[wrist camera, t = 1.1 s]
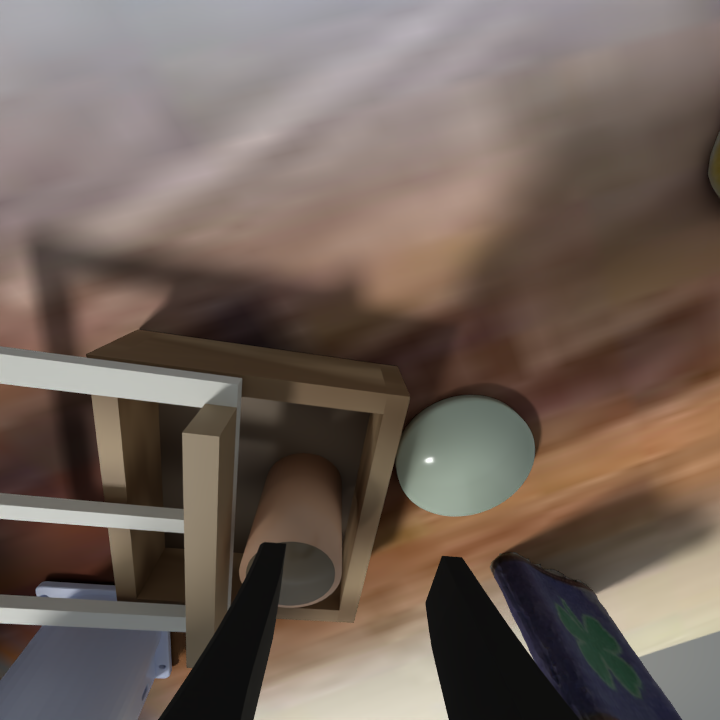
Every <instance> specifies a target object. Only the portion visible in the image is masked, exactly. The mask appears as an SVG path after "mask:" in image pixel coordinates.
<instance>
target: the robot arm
mask: <svg viewBox="0 0 720 720" xmlns="http://www.w3.org/2000/svg"><path fill="white" fill-rule="evenodd" d="M285 551H286V544H284V543H272V542H263V543H262V544H260V546H259V548H258V551H257V554H256V556H255V558H254V561H253V563H252V565H251V567H250V569H249V572H248V574H247V576H246V578H245V580H244V582H243V583H242V585H241V587H240V589H239V591H238V593H237V595H236V597H235V599H234V600H233V602H232V604H231V606H230V607H229V609H228V611H227V613H226V614H225V616H224V618H223V620H222V621H221V623H220V625H219V627H218V628H217V630H216V632H215V633H214V635H213V637H212V638H211V640H210V641H209V643H208V645H207V646H206V648H205V649H204V651H203V653H202V654H201V656H200V657H199V659H198V661H197V662H196V664H195V665H194V667H193V668H192V670H191V672H190V673H189V675H188V676H187V678H186V679H185V681H184V682H183V684H182V685H181V687H180V688H179V690H178V691H177V693H176V694H175V696H174V697H173V699H172V700H171V702H170V703H169V705H168V706H167V708H166V709H165V711H164V712H163V713H162V715H161V716H160V718H159V719H158V720H253V719H254V715H255V711H256V707H257V703H258V698H259V694H260V690H261V686H262V682H263V678H264V673H265V669H266V665H267V661H268V657H269V652H270V648H271V644H272V640H273V634H274V628H275V622H276V616H277V610H278V603H279V597H280V590H281V583H282V575H283V567H284V559H285ZM36 595H37V597H52V598H70V599H88V600H105V601H117V596H116V588H115V585H101V584H84V583H68V582H52V581H44V582H41V583H40V584H39V586H38V587H37V588H36ZM426 611H427V619H428V626H429V633H430V639H431V646H432V651H433V655H434V659H435V664H436V668H437V672H438V676H439V681H440V685H441V689H442V693H443V697H444V701H445V705H446V710H447V714H448V718H449V720H580V719H579V718H578V716H577V715H576V714H575V713H574V712H573V710H572V709H571V708H570V707H569V705H568V704H567V703H566V702H565V700H564V699H563V698H562V697H561V695H560V694H559V693H558V692H557V690H556V689H555V688H554V686H553V685H552V684H551V682H550V681H549V680H548V679H547V677H546V676H545V675H544V673H543V672H542V671H541V669H540V668H539V667H538V665H537V664H536V663H535V661H534V660H533V659H532V657H531V656H530V655H529V653H528V652H527V651H526V649H525V648H524V646H523V645H522V644H521V642H520V641H519V640H518V638H517V637H516V635H515V634H514V633H513V631H512V630H511V628H510V627H509V626H508V624H507V623H506V621H505V620H504V618H503V617H502V616H501V614H500V613H499V611H498V610H497V608H496V607H495V605H494V604H493V603H492V601H491V600H490V598H489V597H488V595H487V594H486V592H485V591H484V589H483V588H482V586H481V585H480V583H479V582H478V580H477V579H476V577H475V576H474V574H473V573H472V571H471V570H470V568H469V567H468V566H467V564H466V563H465V561H464V560H463V558H462V557H449V556H442V558H441V561H440V563H439V566H438V569H437V572H436V575H435V577H434V580H433V583H432V586H431V589H430V591H429V594H428V597H427V600H426ZM171 671H172V661H171V639H170V631H150V630H130V629H109V628H88V627H68V626H47V625H42V627H41V628H40V629H39V631H38V632H37V633H36V634H35V636H34V637H33V638H32V640H31V641H30V642H29V644H28V645H27V646H26V648H25V649H24V650H23V652H22V653H21V654H20V655H19V657H18V658H17V659H16V661H15V662H14V663H13V665H12V666H11V667H10V669H9V670H8V671H7V673H6V674H5V675H4V677H3V678H2V679H1V680H0V720H138V717H139V715H140V712H141V710H142V708H143V705H144V703H145V700H146V698H147V696H148V693H149V691H150V689H151V686H152V684H153V681H154V679H155V678H167V677H169V676H170V673H171Z"/></svg>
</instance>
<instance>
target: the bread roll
mask: <svg viewBox="0 0 720 720" xmlns="http://www.w3.org/2000/svg"><path fill="white" fill-rule="evenodd" d="M708 177H709V180H710V183H711V186H712V187H713V189H714V191H715V192H716V194H717V195H718V197H719V198H720V131H719V134H718V136H717V138H716V141H715V144H714V146H713V149H712V152H711V156H710V161H709V168H708Z"/></svg>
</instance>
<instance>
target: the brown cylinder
mask: <svg viewBox="0 0 720 720" xmlns="http://www.w3.org/2000/svg"><path fill="white" fill-rule="evenodd" d="M263 542H272V543H284V544H286V551H285V559H284V567H283V575H282V583H281V590H280V597H279V603H278V607H284V608H297V607H304V606H309V605H312V604H315V603H317V602H320V601H322V600H323V599H325V598H327V597H328V596H329V595H331V594H332V593H333V592H334V591H335V589H336V588H337V587H338V585H339V583H340V580H341V576H342V481H341V476H340V473H339V471H338V470H337V468H336V467H335V466H334V465H333V464H332V463H331V462H330V461H328V460H327V459H325V458H323V457H321V456H318V455H315V454H310V453H297V454H292V455H288V456H286V457H284V458H282V459H280V460H279V461H277V462H276V463H275V464H274V465H273V466H272V467H271V469H270V470H269V472H268V475H267V478H266V481H265V485H264V488H263V491H262V495H261V498H260V501H259V504H258V508H257V511H256V514H255V518H254V521H253V524H252V528H251V531H250V534H249V537H248V541H247V544H246V547H245V551H244V554H243V557H242V560H241V564H240V568H239V576H240V580H241V583H243V582H244V580H245V578H246V576H247V574H248V572H249V569H250V567H251V565H252V563H253V561H254V558H255V556H256V554H257V551H258V548H259V546H260V544H262V543H263Z"/></svg>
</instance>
